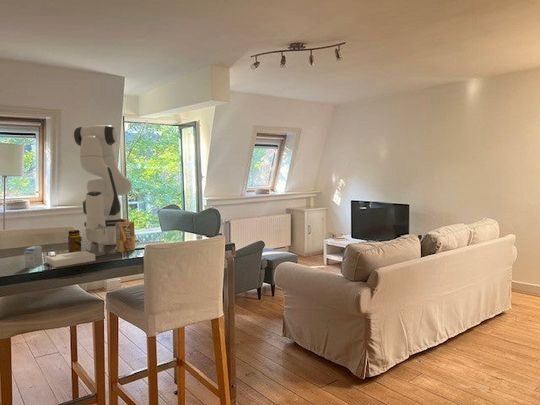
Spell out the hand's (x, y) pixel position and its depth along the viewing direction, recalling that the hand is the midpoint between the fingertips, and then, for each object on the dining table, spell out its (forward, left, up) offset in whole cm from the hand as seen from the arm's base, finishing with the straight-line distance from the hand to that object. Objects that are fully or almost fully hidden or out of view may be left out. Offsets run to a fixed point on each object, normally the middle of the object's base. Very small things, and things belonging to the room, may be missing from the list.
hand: (97, 250), depth 217 cm
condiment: (+7, -15, -2) cm, 17 cm away
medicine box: (+30, +3, -2) cm, 30 cm away
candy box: (-15, 0, -2) cm, 15 cm away
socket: (+15, +6, -2) cm, 16 cm away
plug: (0, 0, -2) cm, 2 cm away
